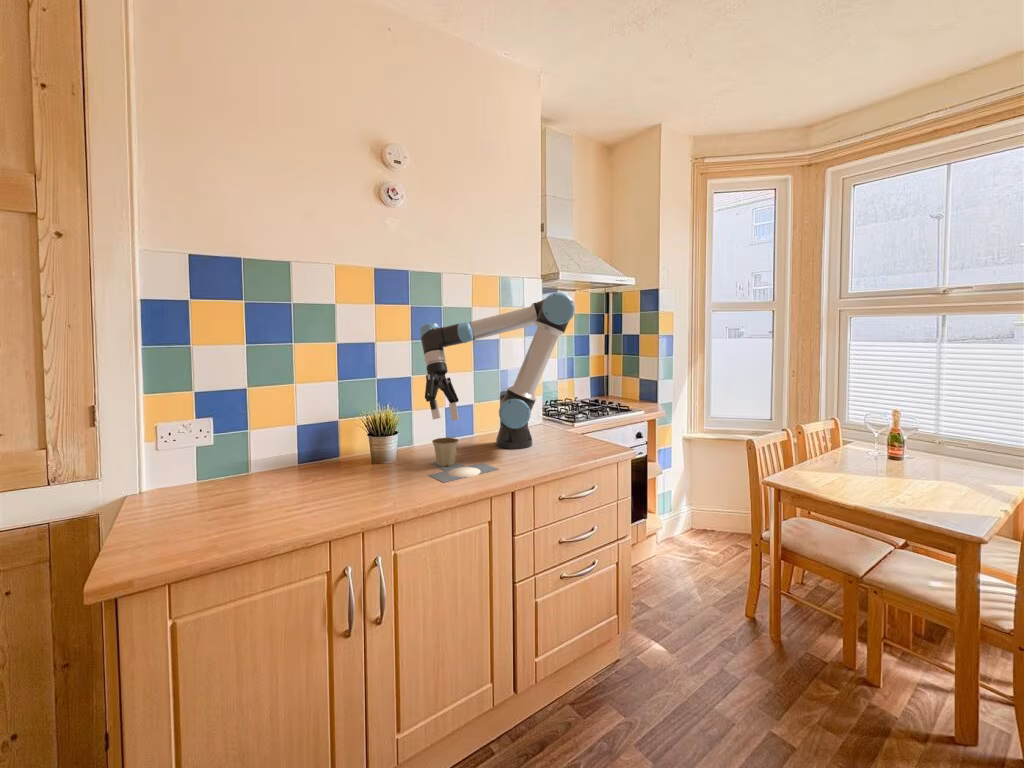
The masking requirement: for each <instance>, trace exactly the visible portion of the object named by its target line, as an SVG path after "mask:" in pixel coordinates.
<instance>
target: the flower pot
mask: <svg viewBox="0 0 1024 768" xmlns="http://www.w3.org/2000/svg"><path fill="white" fill-rule="evenodd" d="M459 441H460V440H459V439H458V438H456V437H439V438H435V439H432V440H431V443H432V445H433V447H434V453H435V459H436V462H437V465H439V466H446V465H448V466H451V465H454V463H455V462H456V453H457V447H458V443H459Z"/></svg>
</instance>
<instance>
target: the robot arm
mask: <svg viewBox="0 0 1024 768" xmlns="http://www.w3.org/2000/svg"><path fill="white" fill-rule="evenodd" d="M574 315H575V303H574V300H573V299H572V298H571V297H570V296H569V294H566V293H563V292H560V291H559V292H558V291H557V292H552V293H550V294H549V295H548V296H546V298H544V299H542V300H540V301H537V302H534V303H531V305H530V306H527V307H523V308H519V309H516V310H513V311H512V310H511V311H508V312H504V313H501V314H496V315H493V316H488V317H483V318H481V319H477V320H473V321H469V322H468V321H466V322H459V323H455V324H450V325H447V326H442V327H441V326H440V325H439V324H438V323H436V322H432V323H431V322H430V323H425V324H423V325H421V326H420V329H419V333H420V334H419V335H420V340H421V345H422V350H423V356H424V361H425V365H426V367H425V368H426V373H427V374H426V375H425V378H426V379H425V380H426V382H425V391H424V399H425V401H426V402H427V403H428V402H429V406H430V412H431V417H432V420H437V419H440V418H441V414H440V408H439V403H438V399H436V398H437V394H438V392H439V390H440V391H442V392H443V394H444V396H445V398H446V399H447V400H448V403H449V404H448V406H449V407H448V408H449V412H450V417H451V421H457V420H460V417H459V411H458V406H457V403H458V402H459V401H460V400H459V398H458V396H457V393H456V390H455V389H454V386H453V384H452V383H453V382H452V380H451V377H446V374H448V372H449V371H448V366H447V363H446V362H447V360H446V356H445V355H446V354H445V351H444V348H448V347H451V346H456V345H460V344H467V343H469V342H473V341H475V340H476V341H477V340H479V339H480V340H481V339H484V338H488V337H492V336H496V335H500V334H504V333H507V332H511V331H515V330H519V329H520V330H521V329H524V328H528V327H532V326H536V327H537V328H536V330H535V333H534V335H533V338H532V340H531V342H530V345H529V347H528V349H527V352H526V355H525V357H524V359H523V362H522V364H521V367H520V369H519V371H518V374H517V376H516V379H515V381H514V383H513V384H512V386H509V387H507V390H501V391H500V393H499V409H498V416H499V423H500V424H499V425H500V426H499V429H498V431H497V432H498V433H497V437H496V440H495V443H496V446H497V447H498V448H503V449H508V450H509V449H510V450H514V449H515V450H517V449H526V448H529V447H531V446H532V445H533V437H532V435H531V432H530V428H529V421H530V418H531V412H532V409H533V408H534V405H535V402H536V400H537V398H536V395H535V393H536V390H537V388H538V386H539V383H540V381H541V379H542V376H543V374H544V372H545V369H546V367H547V364H548V363H549V360H550V357H551V355H552V352H553V350H554V347H555V345H556V343H557V341H558V338H559V336H561V335H563V334H565V331H566V329H567V328H568V325H569V323H570V321H571V320H572V319H573V317H574Z"/></svg>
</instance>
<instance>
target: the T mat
mask: <svg viewBox="0 0 1024 768" xmlns="http://www.w3.org/2000/svg"><path fill="white" fill-rule="evenodd" d="M429 465H431V466H433V467H436V468H438V469H441V470H442V471H439V472H435V473H430V474H427V475H428V476H429V477H431V478H432V479H434V480H437V481H438V480H439V482H440V481H441V482H440V483H443V484H446V483H450V482H453V481H454V482H455V481H457V480H463V479H465V478H473V477H476V476H480V475H482V474H487V473H491V472H495V471H499V470H500V468H497V467H495V466H491V465H489V464H487V463H484V462H480V463H477V464H470V465H467V466H465V465H464V464H461V463H460V462H456V461H455V463H454V465H451V466H448V465H446V466H439V465H437V461H434V462H429ZM462 478H463V479H462Z"/></svg>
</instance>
